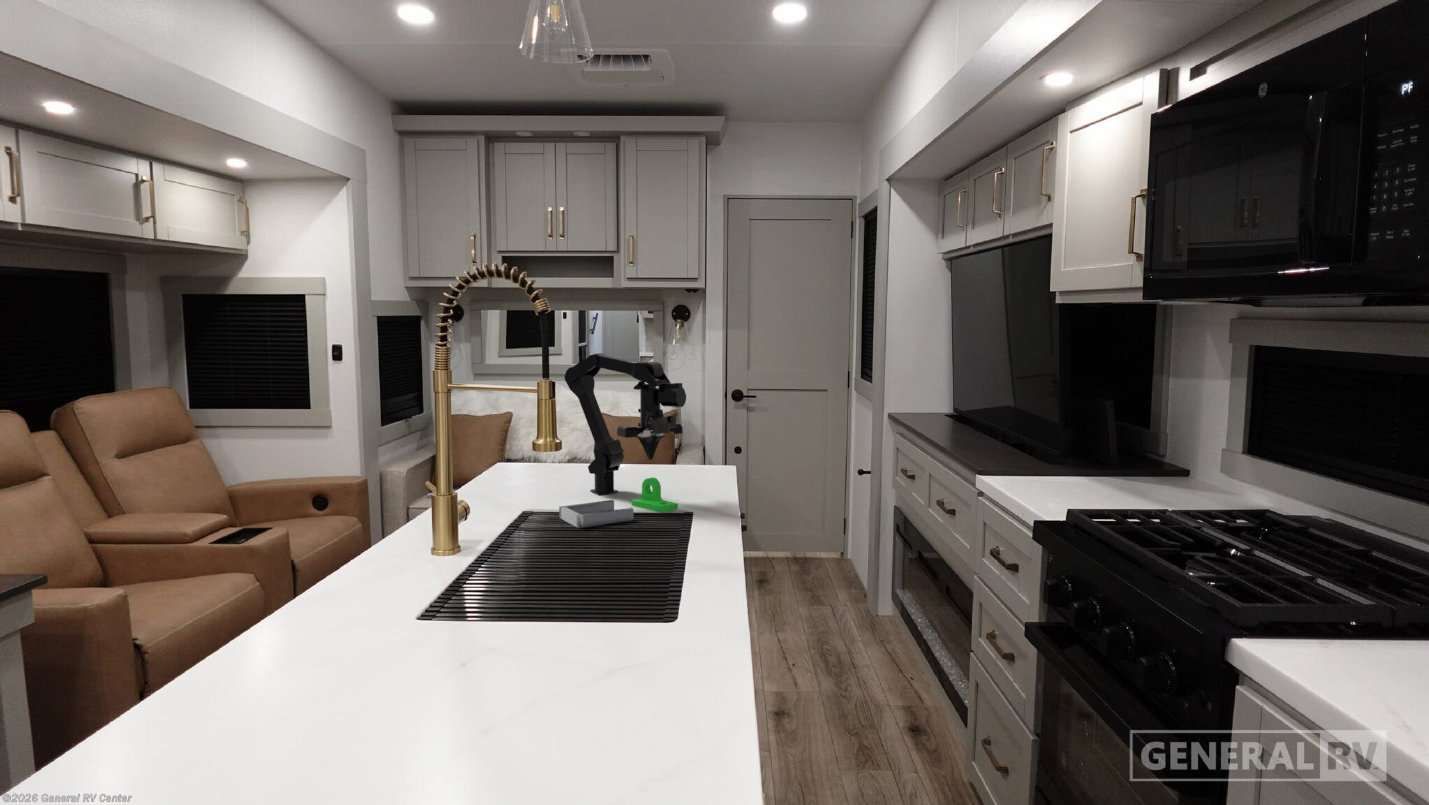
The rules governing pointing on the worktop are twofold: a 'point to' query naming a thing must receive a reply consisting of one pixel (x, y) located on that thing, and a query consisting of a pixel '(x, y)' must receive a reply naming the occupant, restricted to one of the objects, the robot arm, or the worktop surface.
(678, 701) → the worktop surface
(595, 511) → the seating bracket
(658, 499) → the mechanical part
